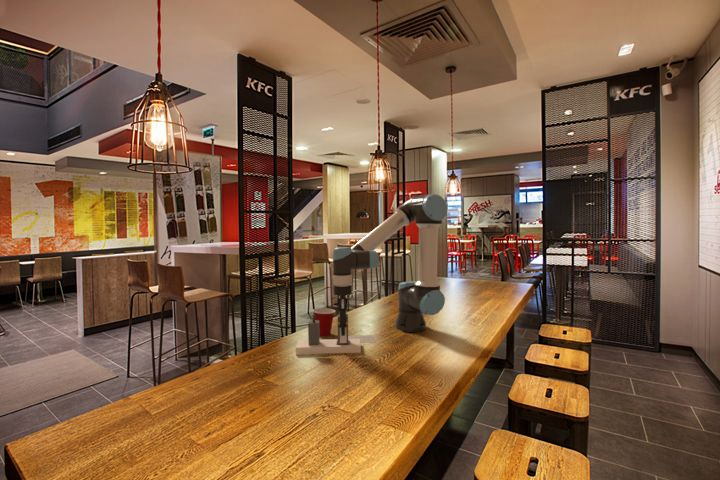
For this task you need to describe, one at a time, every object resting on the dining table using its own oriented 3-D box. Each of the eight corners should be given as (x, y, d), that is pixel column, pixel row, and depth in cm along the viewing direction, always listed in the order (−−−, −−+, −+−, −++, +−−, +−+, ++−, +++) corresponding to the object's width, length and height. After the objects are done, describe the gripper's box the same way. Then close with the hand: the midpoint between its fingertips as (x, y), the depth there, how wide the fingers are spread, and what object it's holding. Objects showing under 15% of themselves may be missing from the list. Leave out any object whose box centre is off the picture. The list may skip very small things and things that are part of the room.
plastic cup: (340, 334, 170) (340, 309, 170) (322, 340, 163) (321, 313, 162) (326, 329, 178) (326, 305, 178) (308, 334, 171) (307, 309, 170)
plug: (348, 342, 153) (347, 314, 152) (348, 345, 149) (348, 316, 148) (338, 342, 153) (337, 314, 152) (337, 346, 149) (337, 317, 148)
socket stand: (359, 345, 156) (359, 311, 155) (360, 353, 147) (360, 316, 146) (298, 347, 155) (297, 312, 154) (295, 355, 146) (295, 318, 145)
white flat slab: (373, 335, 169) (373, 334, 169) (375, 343, 159) (375, 342, 159) (347, 336, 168) (347, 335, 168) (348, 343, 158) (348, 342, 158)
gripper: (334, 281, 158) (334, 334, 159) (332, 289, 141) (333, 348, 142) (351, 281, 158) (352, 333, 160) (352, 288, 141) (352, 347, 142)
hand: (343, 340), depth 151 cm, fingers closed on plug, 4 cm apart
